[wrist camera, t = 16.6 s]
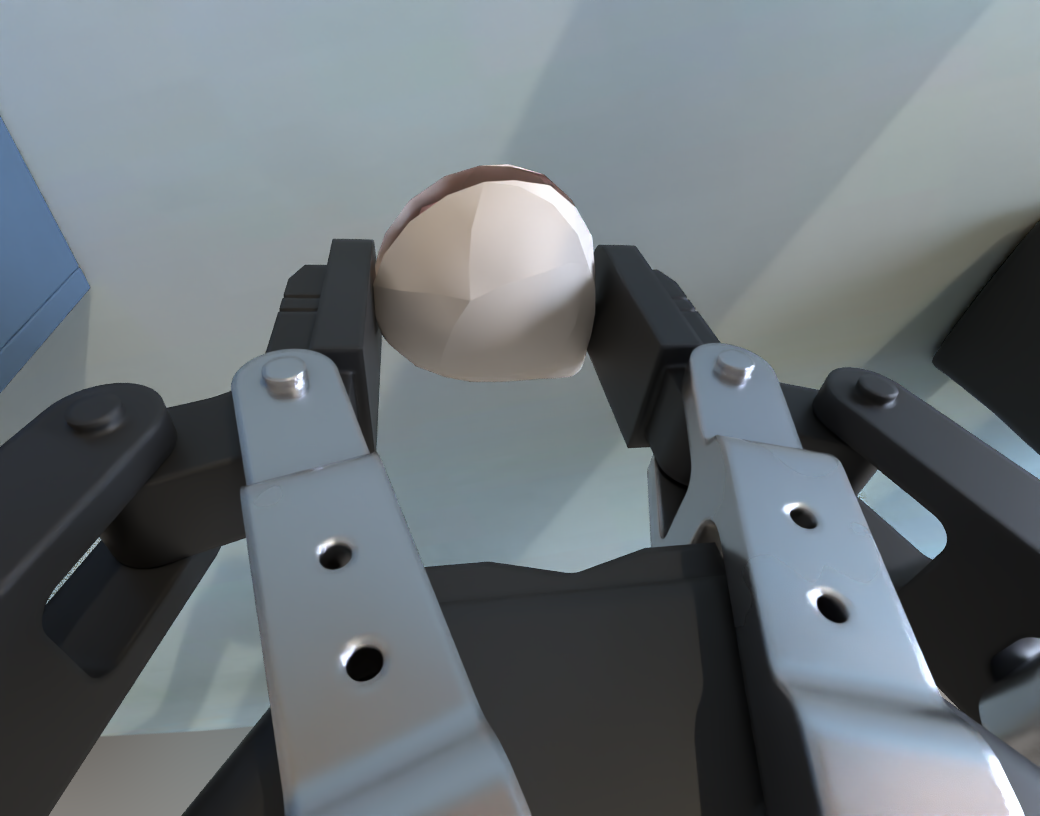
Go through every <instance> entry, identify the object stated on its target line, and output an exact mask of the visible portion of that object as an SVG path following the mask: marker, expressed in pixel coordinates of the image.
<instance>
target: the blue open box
mask: <svg viewBox="0 0 1040 816" xmlns="http://www.w3.org/2000/svg"><path fill="white" fill-rule="evenodd" d="M89 289H90V286H89V284H88V282H87V280H86V278H85V276H84V274H83V272H82V270H81V269H80V268H78V263H77V261H76V259H75V257H74V256H73V254H72V252H71V250H70V248H69V246H68V244H67V242H66V240H65V238H64V236H63V235H62V233H61V231H60V229H59V227H58V225H57V223H56V221H55V219H54V217H53V215H52V213H51V212H50V210H49V208H48V206H47V204H46V202H45V200H44V198H43V196H42V194H41V192H40V191H39V189H38V187H37V185H36V183H35V181H34V179H33V177H32V175H31V173H30V171H29V170H28V168H27V166H26V164H25V162H24V160H23V158H22V156H21V154H20V152H19V150H18V148H17V147H16V145H15V143H14V141H13V139H12V137H11V135H10V133H9V131H8V129H7V127H6V126H5V124H4V122H3V120H2V118H1V116H0V393H1V392H2V391H3V390H4V388H5V387H6V386H7V385H8V384H9V383H10V381H11V380H12V379H13V378H14V377H15V375H16V374H17V373H18V372H19V371H20V370H21V368H22V367H23V366H24V365H25V364H26V363H27V361H28V360H29V359H30V358H31V357H32V356H33V354H34V353H35V352H36V351H37V350H38V349H39V347H40V346H41V345H42V344H43V343H44V342H45V340H46V339H47V338H48V337H49V336H50V335H51V333H52V332H53V331H54V330H55V329H56V328H57V326H58V325H59V324H60V323H61V322H62V321H63V319H64V318H65V317H66V316H67V315H68V314H69V312H70V311H71V310H72V309H73V308H74V307H75V305H76V304H77V303H78V302H79V301H80V300H81V298H82V297H83V296H84V295H85V294H86V292H87V291H88V290H89Z"/></svg>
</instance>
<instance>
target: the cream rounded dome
mask: <svg viewBox="0 0 1040 816" xmlns="http://www.w3.org/2000/svg"><path fill="white" fill-rule="evenodd" d="M375 271H376V278H375V281H374V284H373V289H374V303H375V316H376V320H377V323H378V326H379V329H380V332H381V334H382V335H383V337H384V338H385V339H386V341H387V342H388V343H389V344H390V345H391V346H392V347H393V348H394V349H396V350H397V351H398V352H399V353H401V354H402V355H403V356H404V357H405V358H407V359H408V360H409V361H410V362H412V363H413V364H414V365H415V366H417V367H420V368H422V369H425V370H428V371H430V372H433V373H436V374H438V375H441V376H444V377H448V378H453V379H459V380H464V381H469V382H507V381H520V380H531V379H548V378H565V377H571V376H573V375H575V374H576V373H578V372H579V371H580V370H581V368H582V366H583V363H584V360H585V356H586V352H587V347H588V344H589V341H590V337H591V333H592V328H593V322H594V316H595V263H594V252H593V242H592V235H591V234H590V232H589V230H588V228H587V226H586V225H585V223H584V221H583V219H582V217H581V216H580V214H579V212H578V210H577V208H576V207H575V205H574V203H573V201H572V200H571V199H570V198H569V197H568V196H567V195H566V194H565V193H564V192H563V191H561V190H560V189H559V188H558V187H557V186H556V185H555V184H554V183H553V182H552V181H551V180H550V179H548V178H547V177H546V176H545V175H544V174H541V173H538V172H534V171H531V170H527V169H524V168H521V167H517V166H514V165H510V164H503V165H482V166H477V167H474V168H470V169H467V170H464V171H461V172H457V173H454V174H451V175H448V176H444V177H443V178H441V179H440V180H439V181H437V182H436V183H434V184H433V185H431V186H430V187H428V188H427V189H426V190H424V191H423V192H421V193H420V194H418V195H417V196H415V197H414V198H413V199H411V200H410V201H409V202H408V203H407V205H406V206H405V207H404V209H403V210H402V211H401V213H400V214H399V215H398V217H397V218H396V219H395V221H394V222H393V224H392V225H391V226H390V228H389V229H388V230H387V232H386V233H385V236H384V239H383V242H382V245H381V248H380V251H379V254H378V257H377V260H376V263H375Z"/></svg>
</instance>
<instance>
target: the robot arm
mask: <svg viewBox="0 0 1040 816" xmlns="http://www.w3.org/2000/svg"><path fill="white" fill-rule="evenodd" d="M375 263H376V254H375V246H374V240H366V239H333V240H332V244H331V249H330V254H329V258H328V263H327V265H304V266H303V267H302V268H301V269H300V270H298V271H297V272H296V273H295V274H294V275H293V276H291V277H290V278H289V279H288V282H287V286H286V289H285V292H284V298H283V299H282V302H281V305H280V308H279V309H280V312H278V315H277V318H276V321H275V324H274V328H273V331H272V334H271V337H270V340H269V344H268V347H267V350H266V353H265V354H263V355H260V356H258V357H256V358H254V359H252V360H250V361H249V362H247V363H246V364H244V365H243V366H242V367H241V368H240V369H239V370H238V371H237V372H236V374H235V375H234V377H233V380H232V383H231V391H229V392H227V393H224V394H222V395H219V396H216V397H212V398H208V399H204V400H200V401H196V402H191V403H187V404H182V405H178V406H174V407H169V408H166V406H165V404H164V402H163V400H162V397H161V396H160V395H159V394H158V393H157V392H156V391H154V390H153V389H151V388H149V387H146V386H143V385H139V384H132V383H113V384H105V385H99V386H95V387H91V388H87V389H84V390H81V391H78V392H76V393H73V394H71V395H69V396H67V397H64V398H62V399H61V400H59V401H57V402H56V403H54V404H52V405H51V406H50V407H48V408H47V409H46V410H44V411H43V412H42V413H41V414H39V415H38V416H37V417H36V418H35V419H33V420H32V421H31V422H30V423H28V424H27V425H26V426H25V427H24V428H22V429H21V430H20V431H19V432H18V433H16V434H15V435H14V436H13V437H12V438H10V439H9V440H8V441H7V442H5V443H4V444H3V445H2V446H1V447H0V816H49V814H50V812H51V811H52V809H53V808H54V806H55V805H56V803H57V802H58V800H59V799H60V797H61V795H62V794H63V792H64V791H65V789H66V788H67V786H68V784H69V783H70V782H71V780H72V778H73V777H74V775H75V774H76V772H77V770H78V769H79V768H80V766H81V764H82V763H83V761H84V760H85V758H86V757H87V755H88V754H89V752H90V751H91V749H92V747H93V746H94V744H95V743H96V741H97V740H98V738H99V737H100V735H101V734H102V732H103V730H104V729H105V727H106V726H107V724H108V723H109V721H110V720H111V718H112V717H113V715H114V713H115V712H116V710H117V709H118V707H119V706H120V704H121V703H122V701H123V700H124V698H125V696H126V695H127V693H128V692H129V690H130V689H131V687H132V686H133V684H134V683H135V681H136V679H137V678H138V676H139V675H140V673H141V672H142V670H143V669H144V667H145V666H146V664H147V662H148V661H149V659H150V658H151V656H152V655H153V653H154V652H155V650H156V649H157V647H158V645H159V644H160V642H161V641H162V639H163V638H164V636H165V635H166V633H167V631H168V630H169V628H170V627H171V625H172V624H173V622H174V621H175V619H176V618H177V616H178V614H179V613H180V611H181V610H182V608H183V607H184V605H185V604H186V602H187V601H188V599H189V597H190V596H191V594H192V593H193V591H194V590H195V588H196V587H197V585H198V584H199V582H200V580H201V579H202V577H203V576H204V574H205V573H206V571H207V570H208V568H209V567H210V565H211V563H212V562H213V560H214V559H215V557H216V556H217V554H218V552H219V550H220V548H221V546H223V545H226V544H229V543H232V542H235V541H238V540H241V539H244V538H246V541H247V548H248V555H249V562H250V569H251V576H252V582H253V589H254V596H255V603H256V610H257V617H258V624H259V631H260V638H261V645H262V652H263V659H264V666H265V673H266V680H267V687H268V693H269V700H270V708H269V709H268V710H267V711H266V712H265V714H264V715H263V716H262V717H261V719H260V720H259V721H258V722H257V723H256V725H255V726H254V727H253V728H252V730H251V731H250V732H249V733H248V735H247V736H246V737H245V738H244V740H243V741H242V742H241V743H240V745H239V746H238V747H237V748H236V749H235V750H234V752H233V753H232V754H231V756H230V757H229V758H228V759H227V760H226V762H225V763H224V764H223V765H222V766H221V768H220V769H219V770H218V771H217V773H216V774H215V775H214V776H213V778H212V779H211V780H210V781H209V782H208V784H207V785H206V786H205V787H204V789H203V790H202V791H201V792H200V794H199V795H198V796H197V797H196V799H195V800H194V801H193V802H192V803H191V805H190V806H189V807H188V808H187V809H186V811H185V812H184V813H183V814H182V816H1040V480H1039V479H1038V478H1036V477H1035V476H1033V475H1032V474H1030V473H1029V472H1028V471H1026V470H1025V469H1023V468H1022V467H1020V466H1019V465H1017V464H1016V463H1014V462H1013V461H1011V460H1010V459H1008V458H1007V457H1005V456H1004V455H1003V454H1001V453H1000V452H998V451H997V450H995V449H994V448H992V447H991V446H989V445H988V444H986V443H985V442H983V441H982V440H980V439H979V438H978V437H976V436H975V435H973V434H972V433H970V432H969V431H967V430H966V429H964V428H963V427H961V426H960V425H958V424H957V423H955V422H954V421H952V420H951V419H950V418H948V417H947V416H945V415H944V414H942V413H941V412H939V411H938V410H936V409H935V408H933V407H932V406H930V405H929V404H927V403H926V402H925V401H923V400H922V399H920V398H919V397H917V396H916V395H914V394H913V393H911V392H910V391H908V390H907V389H905V388H904V387H902V386H901V385H899V384H898V383H896V382H895V381H893V380H891V379H889V378H887V377H885V376H883V375H880V374H878V373H875V372H872V371H869V370H865V369H860V368H851V367H845V368H838V369H835V370H833V371H832V372H830V373H829V375H828V377H827V378H826V380H825V382H824V383H823V385H822V387H821V388H820V390H816V389H811V388H806V387H800V386H795V385H790V384H785V383H780V382H779V381H778V378H777V375H776V373H775V371H774V369H773V368H772V367H771V366H770V365H769V364H768V363H767V362H766V361H765V360H764V359H763V358H761V357H760V356H758V355H757V354H755V353H753V352H751V351H749V350H747V349H744V348H741V347H738V346H735V345H730V344H724V343H720V341H719V340H718V338H717V337H716V336H715V334H714V333H713V332H712V330H711V329H710V328H709V326H708V325H707V324H706V322H705V321H704V319H703V318H702V317H701V315H700V314H699V313H698V311H695V307H694V306H693V304H692V303H691V302H690V300H687V296H686V295H685V294H684V292H683V291H682V289H681V288H680V287H679V285H678V284H677V283H676V282H675V281H673V280H672V279H671V278H669V277H668V276H666V275H665V274H663V273H662V272H660V271H659V270H652V269H651V267H650V266H649V264H648V263H647V261H646V260H645V259H644V257H643V256H642V254H641V253H640V251H639V250H638V249H637V247H636V246H630V245H598V246H597V247H596V249H595V251H594V263H595V316H594V322H593V328H592V333H591V337H590V341H589V344H588V347H587V351H588V354H589V356H590V359H591V361H592V363H593V366H594V368H595V371H596V373H597V375H598V378H599V380H600V383H601V385H602V387H603V390H604V392H605V395H606V397H607V399H608V402H609V404H610V407H611V409H612V411H613V414H614V416H615V419H616V421H617V423H618V426H619V428H620V431H621V433H622V435H623V438H624V440H625V443H626V445H627V447H628V448H641V447H651V450H652V452H653V456H652V459H651V461H650V464H649V467H648V471H647V478H648V497H649V517H650V536H651V548H644V549H641V550H638V551H636V552H633V553H630V554H627V555H625V556H622V557H619V558H616V559H614V560H611V561H608V562H605V563H603V564H600V565H597V566H594V567H592V568H589V569H586V570H584V571H580V572H577V573H564V572H557V571H550V570H543V569H536V568H529V567H522V566H515V565H509V564H502V563H495V562H478V563H467V564H455V565H444V566H432V567H424V565H423V563H422V560H421V558H420V555H419V553H418V550H417V548H416V545H415V543H414V540H413V538H412V535H411V533H410V530H409V528H408V525H407V523H406V520H405V517H404V515H403V512H402V510H401V507H400V505H399V502H398V500H397V497H396V495H395V492H394V490H393V487H392V485H391V482H390V480H389V477H388V475H387V472H386V470H385V467H384V465H383V462H382V460H381V458H380V456H379V454H378V453H377V452H376V446H377V426H378V406H379V385H380V365H381V345H382V334H381V332H380V329H379V326H378V323H377V320H376V316H375V303H374V289H373V284H374V281H375V278H376V271H375ZM877 470H879V471H881V472H882V473H883V474H884V475H886V476H887V477H888V478H889V479H890V480H892V481H893V482H894V483H895V484H897V485H898V486H899V487H900V488H901V489H903V490H904V491H905V492H906V493H908V494H909V495H910V496H911V497H912V498H914V499H915V500H916V501H917V502H919V503H920V504H921V505H922V506H923V507H925V508H926V509H927V510H928V511H930V512H931V513H932V514H933V515H934V516H935V517H937V518H938V520H939V521H940V522H941V523H942V525H943V527H944V529H945V531H946V534H947V544H946V546H945V548H944V550H943V551H942V552H941V553H940V554H939V555H937V556H936V557H935V558H934V559H933V560H932V559H930V558H928V557H926V556H925V555H923V554H922V553H921V552H920V551H919V550H918V549H916V548H915V547H914V546H913V545H912V544H911V543H910V542H908V541H907V540H906V539H905V538H904V537H903V536H902V535H900V534H899V533H898V532H897V531H896V530H895V529H894V528H893V527H891V526H890V525H889V524H888V523H887V522H886V521H885V520H883V519H882V518H881V517H880V516H879V515H878V514H877V513H876V512H874V511H873V510H872V509H871V508H870V507H869V506H868V505H866V504H865V503H864V502H863V501H862V500H861V499H860V498H858V497H857V495H858V494H859V492H860V491H861V490H862V489H863V487H864V486H865V485H866V484H867V482H868V481H869V480H870V479H871V477H872V476H873V475H874V474H875V472H876V471H877ZM98 537H100V539H101V541H100V542H99V543H98V545H97V546H96V547H95V548H94V549H93V550H92V552H91V553H90V554H89V555H88V556H87V558H86V559H85V560H84V561H83V562H82V563H81V565H80V566H79V567H78V568H77V569H76V570H75V572H74V573H73V574H72V575H71V576H70V577H69V579H68V580H67V581H66V582H65V583H64V584H63V586H62V587H61V588H60V589H59V590H58V591H57V593H56V594H55V595H54V596H53V597H52V598H51V600H50V601H49V602H48V603H47V604H46V602H47V600H48V598H49V596H50V595H51V593H52V592H53V590H54V589H55V588H56V586H57V585H58V584H59V583H60V581H61V580H62V579H63V578H64V577H65V576H66V575H67V573H68V572H69V571H70V570H71V569H72V568H73V566H74V565H75V564H76V563H77V562H78V561H79V559H80V558H81V557H82V556H83V555H84V554H85V553H86V551H87V550H88V549H89V548H90V547H91V546H92V544H93V543H94V542H95V541H96V540H97V539H98ZM936 686H937V687H938V688H939V689H940V690H941V691H942V692H943V693H944V694H945V695H946V696H947V697H948V698H949V699H950V700H951V701H952V702H953V703H954V704H955V705H956V706H957V707H958V708H959V709H960V710H959V709H957V708H956V707H955V706H954V705H952V704H951V703H950V702H948V701H947V700H945V699H944V698H943V697H941V695H940V694H939V691H938V689H937V687H936Z"/></svg>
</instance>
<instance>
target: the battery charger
mask: <svg viewBox="0 0 1040 816" xmlns="http://www.w3.org/2000/svg"><path fill="white" fill-rule="evenodd" d="M932 363H933V364H934V366H935V367H936V368H938V369H939V370H940V371H942V372H943V373H944V374H946V375H947V376H948V377H950V378H951V379H952V380H953V381H955V382H956V383H957V384H959V385H960V386H961V387H963V388H964V389H965V390H966V391H967V392H968V393H970V394H971V395H972V396H973V397H975V398H976V399H977V400H978V401H980V402H981V403H982V404H983V405H985V406H986V407H987V408H988V409H989V410H991V411H992V412H993V413H994V414H995V415H996V416H998V417H999V418H1000V419H1001V420H1002V421H1003V422H1004V423H1005V424H1006V425H1007V426H1009V427H1010V428H1011V429H1012V430H1013V431H1014V432H1015V433H1016V434H1017V435H1018V436H1019V437H1020V438H1021V439H1022V440H1023V441H1025V442H1026V443H1027V444H1028V445H1029V446H1030V447H1031V448H1032V449H1033V450H1035V451H1036V452H1037V453H1038V454H1039V455H1040V221H1039V222H1038V223H1037V224H1036V225H1035V226H1034V227H1033V229H1032V230H1031V231H1030V232H1029V233H1028V234H1027V236H1026V237H1025V238H1024V239H1023V240H1022V241H1021V243H1020V244H1019V245H1018V246H1017V248H1016V249H1015V250H1014V251H1013V253H1012V254H1011V255H1010V256H1009V257H1008V259H1007V260H1006V261H1005V262H1004V264H1003V265H1002V266H1001V267H1000V268H999V270H998V271H997V272H996V273H995V275H994V276H993V277H992V278H991V280H990V281H989V282H988V283H987V285H986V286H985V287H984V288H983V290H982V291H981V292H980V294H979V295H978V296H977V298H976V299H975V300H974V302H973V303H972V304H971V306H970V307H969V308H968V309H967V311H966V312H965V313H964V315H963V316H962V317H961V319H960V320H959V321H958V323H957V324H956V325H955V327H954V328H953V329H952V331H951V332H950V334H949V335H948V337H947V338H946V339H945V341H944V342H943V344H942V345H941V347H940V348H939V349H938V351H937V352H936V354H935V355H934V357H933V360H932Z"/></svg>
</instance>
